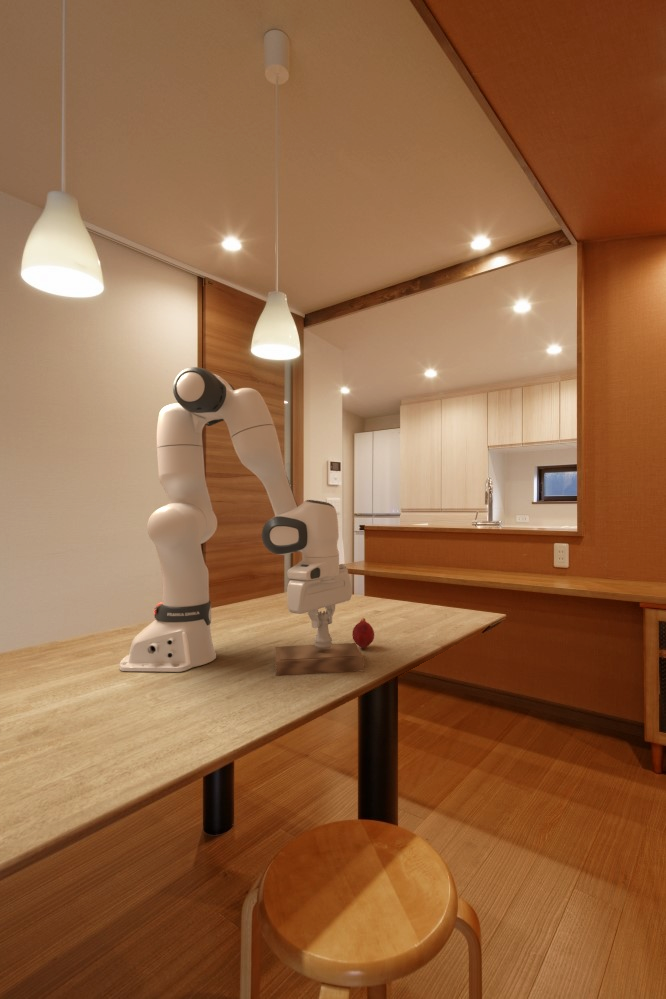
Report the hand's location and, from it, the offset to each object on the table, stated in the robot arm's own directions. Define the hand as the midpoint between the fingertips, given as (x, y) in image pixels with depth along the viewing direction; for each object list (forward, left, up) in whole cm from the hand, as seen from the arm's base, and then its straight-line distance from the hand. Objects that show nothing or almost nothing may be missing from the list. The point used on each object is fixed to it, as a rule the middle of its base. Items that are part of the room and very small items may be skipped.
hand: (322, 625), depth 118 cm
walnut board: (-1, 0, -9) cm, 9 cm away
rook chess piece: (0, 0, -5) cm, 5 cm away
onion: (+12, +11, -9) cm, 19 cm away
